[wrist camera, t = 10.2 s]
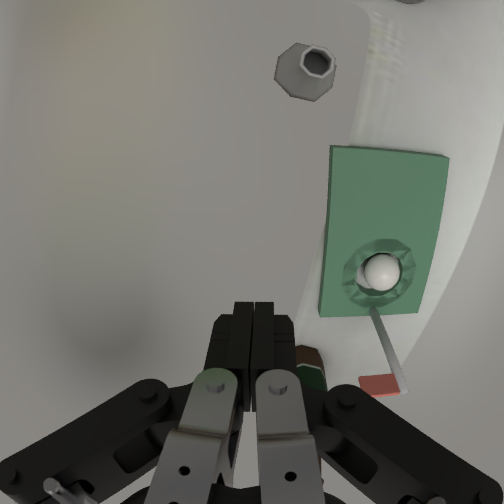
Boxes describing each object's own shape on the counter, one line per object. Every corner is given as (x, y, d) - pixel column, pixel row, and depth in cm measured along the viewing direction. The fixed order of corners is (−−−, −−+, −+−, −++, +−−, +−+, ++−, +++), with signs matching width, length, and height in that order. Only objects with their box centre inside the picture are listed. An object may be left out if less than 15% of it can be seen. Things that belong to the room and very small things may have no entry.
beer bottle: (301, 336, 50) (314, 472, 28) (331, 358, 52) (352, 484, 31) (267, 360, 53) (264, 489, 31) (298, 380, 55) (305, 500, 33)
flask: (345, 64, 32) (370, 53, 23) (316, 111, 35) (332, 115, 26) (292, 33, 31) (300, 11, 22) (263, 82, 34) (261, 74, 25)
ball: (366, 298, 41) (358, 277, 45) (399, 297, 40) (389, 276, 45) (372, 267, 38) (363, 247, 42) (408, 266, 38) (396, 247, 42)
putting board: (329, 145, 37) (376, 180, 21) (442, 155, 36) (529, 196, 20) (318, 309, 47) (335, 404, 31) (413, 305, 47) (457, 388, 30)
